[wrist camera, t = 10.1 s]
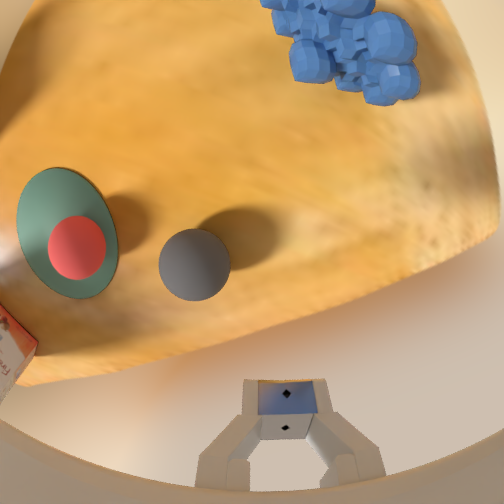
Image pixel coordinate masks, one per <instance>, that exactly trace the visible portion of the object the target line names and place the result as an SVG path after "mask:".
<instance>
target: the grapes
mask: <svg viewBox="0 0 504 504" xmlns="http://www.w3.org/2000/svg"><path fill="white" fill-rule="evenodd" d="M260 3H261V5H262V7H264V8H268V9H272V13H271V15H272V21H273V25H274V28H275V31H276V34H277V35H282V36H287V37H292V38H294V41H295V43H293V44H292V46H291V48H290V51H289V59H290V65H291V69H292V73H293V76H294V79H295V81H299V82H304V83H318V84H324V83H327V82H330V81H332V79H333V78H334V79H335V83H336V86H337V89H338V90H342V91H348V92H361V91H363V95H364V98H365V101H366V103H369V104H372V105H378V106H390V105H394V104H395V103H396V102H397V101H398V99H401V100H407V99H413V98H414V97H415V96H416V95H417V94H418V93H419V92H420V85H421V80H420V76H419V72H418V70H417V68H416V66H415V64H414V63H413V61H412V60H413V59H414V58H415V56H416V53H417V41H416V38H415V35H414V32H413V30H412V29H411V27H410V26H409V24H408V23H407V22H406V21H405V20H404V19H402V18H400V17H399V16H397V15H395V14H393V13H388V12H383V11H378V12H375V13H372V14H371V12H372V10H373V9H374V7H375V0H260Z"/></svg>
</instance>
